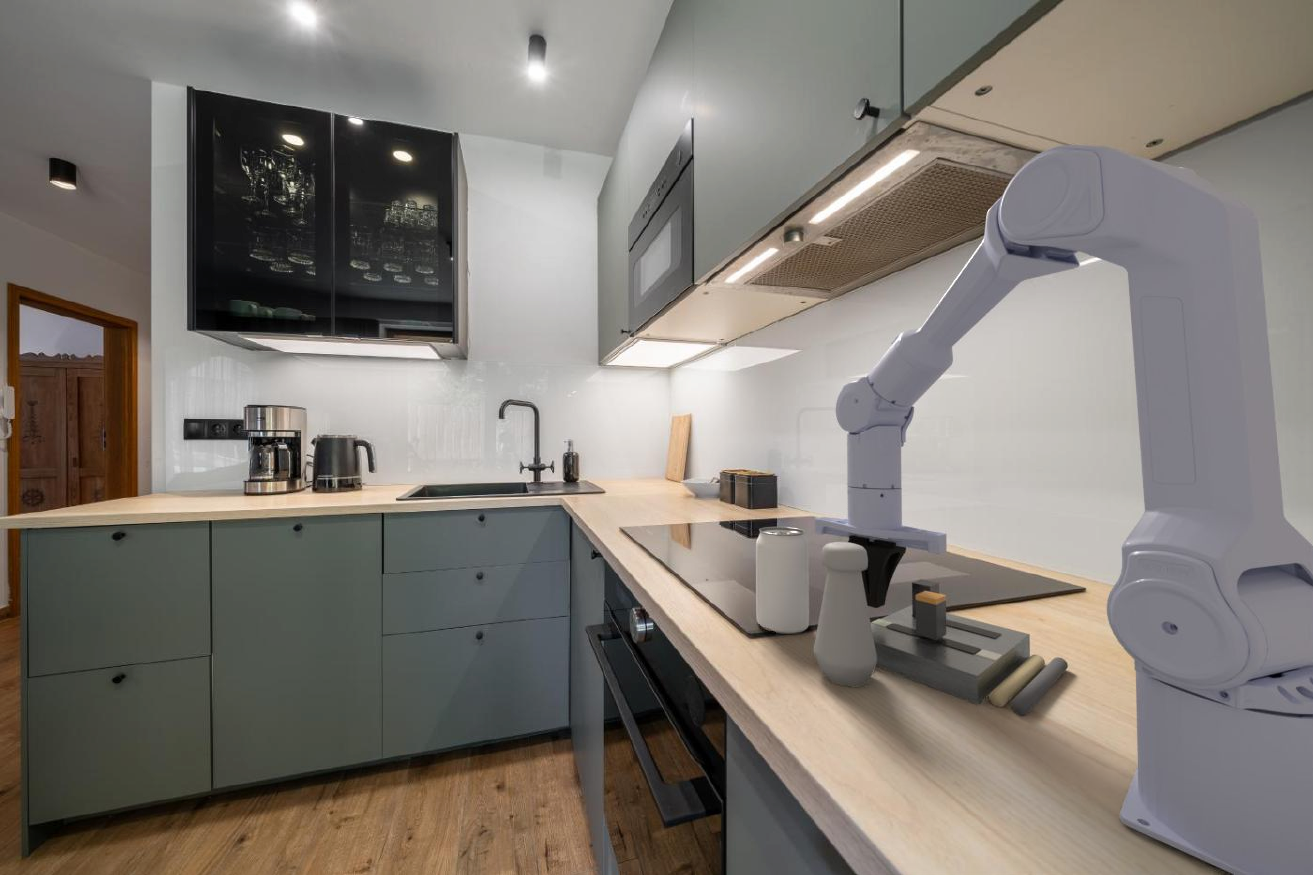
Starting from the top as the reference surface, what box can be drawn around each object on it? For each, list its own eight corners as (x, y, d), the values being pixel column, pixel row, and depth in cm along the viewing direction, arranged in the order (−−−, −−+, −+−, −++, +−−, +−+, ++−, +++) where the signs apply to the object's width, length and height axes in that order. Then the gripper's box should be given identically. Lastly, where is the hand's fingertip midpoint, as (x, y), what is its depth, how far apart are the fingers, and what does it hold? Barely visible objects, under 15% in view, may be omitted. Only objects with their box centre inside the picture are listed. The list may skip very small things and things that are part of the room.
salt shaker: (838, 695, 43) (836, 552, 43) (802, 666, 48) (801, 540, 48) (891, 686, 44) (889, 548, 44) (850, 659, 50) (849, 537, 50)
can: (819, 632, 57) (818, 533, 57) (771, 637, 55) (770, 536, 56) (791, 614, 63) (791, 525, 64) (747, 618, 62) (747, 527, 62)
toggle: (946, 634, 49) (945, 595, 49) (936, 640, 48) (936, 599, 48) (926, 628, 51) (925, 590, 51) (916, 634, 49) (915, 594, 49)
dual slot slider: (1030, 657, 50) (1028, 596, 50) (977, 704, 41) (976, 629, 41) (913, 624, 60) (912, 572, 60) (849, 656, 50) (849, 595, 51)
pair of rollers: (1069, 670, 47) (1069, 658, 47) (1028, 717, 39) (1027, 703, 39) (1034, 660, 49) (1034, 648, 50) (988, 703, 41) (988, 689, 41)
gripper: (957, 489, 51) (959, 615, 51) (836, 481, 62) (836, 583, 62) (929, 493, 47) (930, 631, 46) (804, 484, 58) (804, 594, 58)
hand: (874, 605), depth 54 cm, fingers closed
